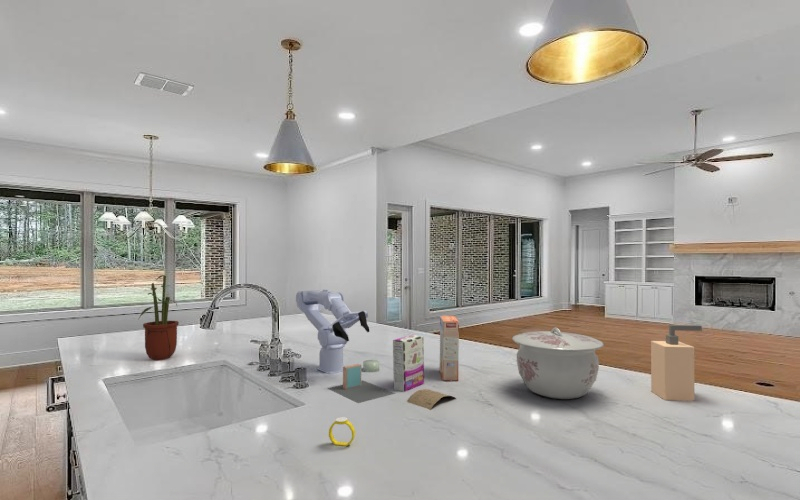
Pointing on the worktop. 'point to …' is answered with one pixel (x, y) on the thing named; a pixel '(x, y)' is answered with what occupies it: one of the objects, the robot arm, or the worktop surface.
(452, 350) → the cracker box
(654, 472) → the worktop surface
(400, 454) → the worktop surface
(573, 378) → the chamber pot
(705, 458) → the worktop surface
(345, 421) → the watch
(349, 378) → the tile
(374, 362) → the pale green dome
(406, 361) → the candy bar box
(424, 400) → the clay tablet
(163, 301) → the potted plant
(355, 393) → the mat
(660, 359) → the soap dispenser
